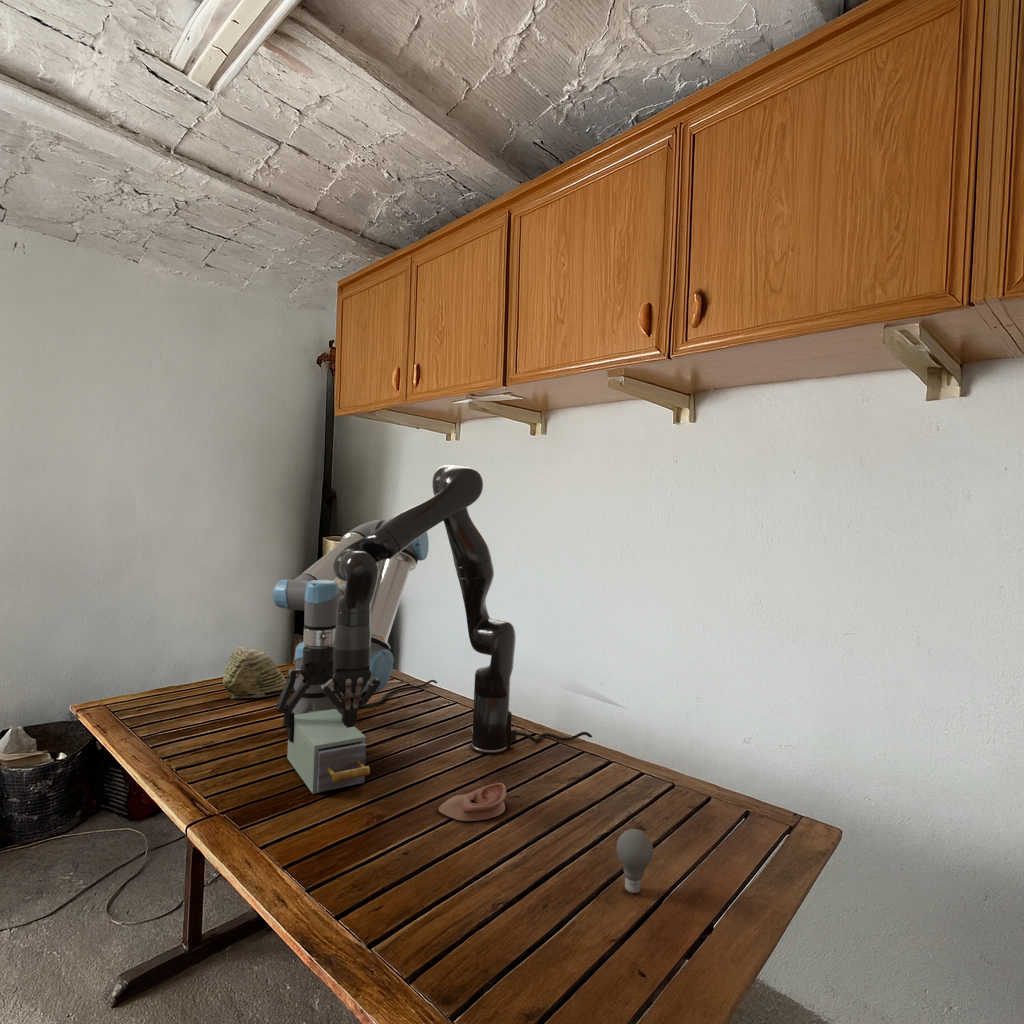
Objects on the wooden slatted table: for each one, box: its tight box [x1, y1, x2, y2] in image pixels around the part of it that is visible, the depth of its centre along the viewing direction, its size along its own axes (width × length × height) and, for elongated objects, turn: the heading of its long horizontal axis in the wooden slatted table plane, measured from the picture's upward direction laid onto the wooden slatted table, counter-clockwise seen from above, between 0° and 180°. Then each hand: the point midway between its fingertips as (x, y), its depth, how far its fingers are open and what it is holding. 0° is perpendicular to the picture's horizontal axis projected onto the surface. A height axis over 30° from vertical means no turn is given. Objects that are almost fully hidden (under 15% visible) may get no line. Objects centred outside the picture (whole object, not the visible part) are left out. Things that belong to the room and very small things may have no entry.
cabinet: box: [286, 709, 366, 795], centre depth 147 cm, size 21×11×10 cm, turn 34°
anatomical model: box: [438, 782, 507, 822], centre depth 131 cm, size 13×4×12 cm
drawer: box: [317, 742, 371, 794], centre depth 142 cm, size 26×10×8 cm, turn 34°
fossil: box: [222, 646, 287, 699], centre depth 198 cm, size 9×18×15 cm, turn 132°
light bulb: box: [615, 828, 654, 894], centre depth 106 cm, size 6×6×10 cm
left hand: (316, 735), depth 152 cm, fingers closed on cabinet, 11 cm apart
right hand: (349, 726), depth 134 cm, fingers closed
